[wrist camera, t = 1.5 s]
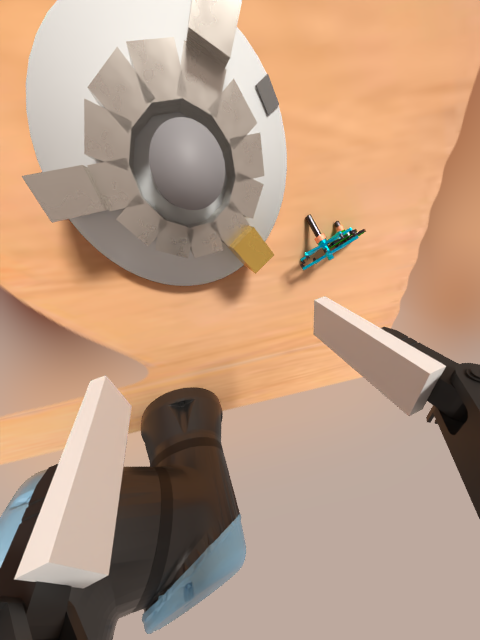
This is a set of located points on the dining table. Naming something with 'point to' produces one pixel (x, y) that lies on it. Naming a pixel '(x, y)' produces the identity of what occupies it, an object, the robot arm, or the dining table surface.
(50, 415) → the dining table surface
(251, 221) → the white shallow round piece
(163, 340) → the dining table surface
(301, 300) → the dining table surface
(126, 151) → the grey segmented ring
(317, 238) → the stick construction toy
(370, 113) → the dining table surface
